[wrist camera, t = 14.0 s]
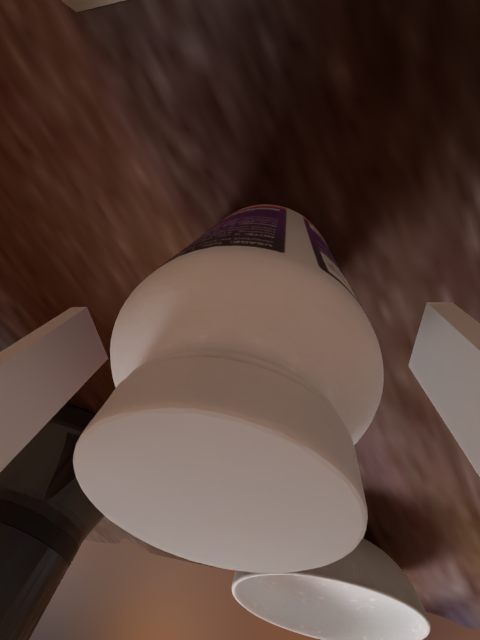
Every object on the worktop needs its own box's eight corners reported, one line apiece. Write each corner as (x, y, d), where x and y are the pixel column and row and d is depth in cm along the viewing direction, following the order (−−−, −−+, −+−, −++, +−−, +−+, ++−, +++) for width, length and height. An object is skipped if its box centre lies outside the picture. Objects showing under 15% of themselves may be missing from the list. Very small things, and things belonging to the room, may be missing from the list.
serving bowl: (244, 483, 31) (233, 557, 25) (433, 520, 28) (471, 612, 22) (237, 554, 41) (228, 618, 35) (375, 585, 39) (390, 660, 33)
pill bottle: (193, 295, 19) (18, 520, 7) (228, 179, 15) (-54, 213, 3) (293, 336, 19) (301, 622, 7) (355, 234, 15) (629, 494, 3)
